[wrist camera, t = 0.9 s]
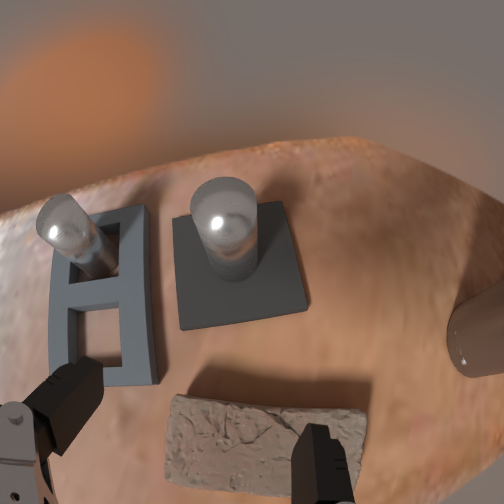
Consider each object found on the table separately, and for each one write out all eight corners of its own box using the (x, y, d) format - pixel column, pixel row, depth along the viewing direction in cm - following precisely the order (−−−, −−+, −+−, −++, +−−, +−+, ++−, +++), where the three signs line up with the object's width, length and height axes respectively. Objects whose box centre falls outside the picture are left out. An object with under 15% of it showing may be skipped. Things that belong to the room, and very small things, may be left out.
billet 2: (253, 235, 31) (250, 172, 22) (261, 278, 29) (262, 226, 20) (208, 243, 30) (188, 182, 21) (214, 285, 29) (192, 237, 19)
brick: (357, 405, 24) (374, 408, 20) (346, 483, 21) (361, 498, 17) (182, 391, 26) (167, 392, 21) (174, 469, 22) (158, 482, 18)
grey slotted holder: (149, 213, 33) (143, 203, 32) (159, 384, 26) (152, 384, 24) (65, 231, 33) (57, 223, 31) (60, 385, 25) (50, 384, 23)
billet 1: (119, 238, 32) (78, 188, 23) (118, 276, 30) (71, 233, 21) (86, 245, 32) (41, 199, 23) (84, 281, 30) (32, 243, 21)
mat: (281, 205, 33) (281, 200, 32) (306, 310, 28) (308, 308, 27) (174, 223, 33) (172, 218, 32) (182, 330, 28) (180, 329, 27)
